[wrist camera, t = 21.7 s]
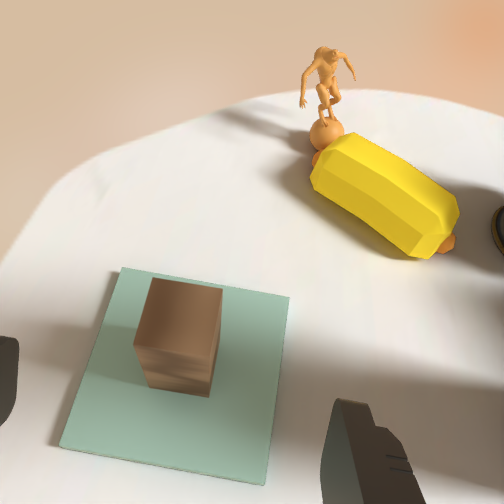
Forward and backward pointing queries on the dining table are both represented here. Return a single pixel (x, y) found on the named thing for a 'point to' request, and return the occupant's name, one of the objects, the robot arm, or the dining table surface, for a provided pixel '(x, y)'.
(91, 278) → the dining table surface
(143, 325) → the walnut block
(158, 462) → the teal board
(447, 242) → the yellow faceted bar
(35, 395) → the dining table surface
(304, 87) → the figurine
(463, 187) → the dining table surface
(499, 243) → the apothecary jar
